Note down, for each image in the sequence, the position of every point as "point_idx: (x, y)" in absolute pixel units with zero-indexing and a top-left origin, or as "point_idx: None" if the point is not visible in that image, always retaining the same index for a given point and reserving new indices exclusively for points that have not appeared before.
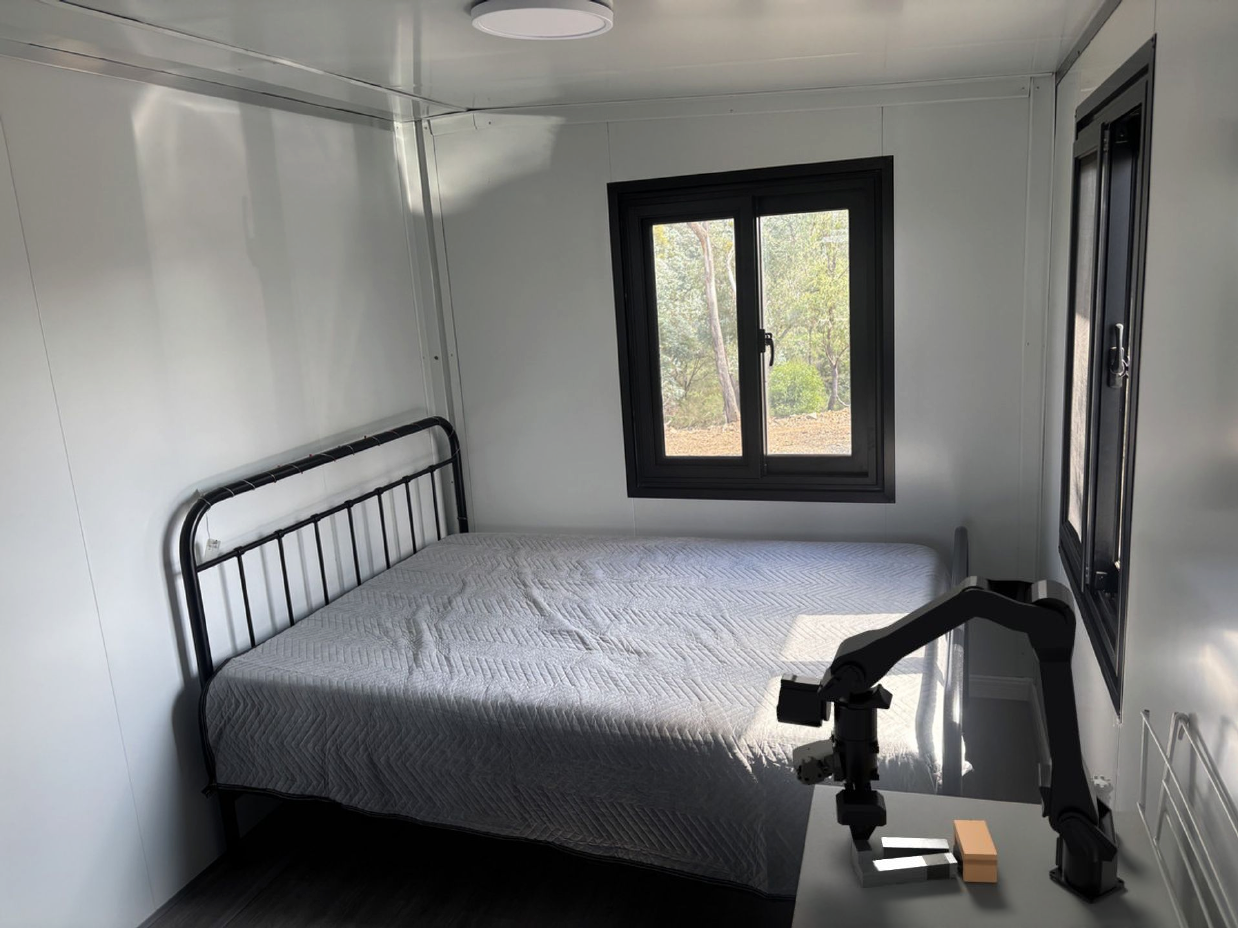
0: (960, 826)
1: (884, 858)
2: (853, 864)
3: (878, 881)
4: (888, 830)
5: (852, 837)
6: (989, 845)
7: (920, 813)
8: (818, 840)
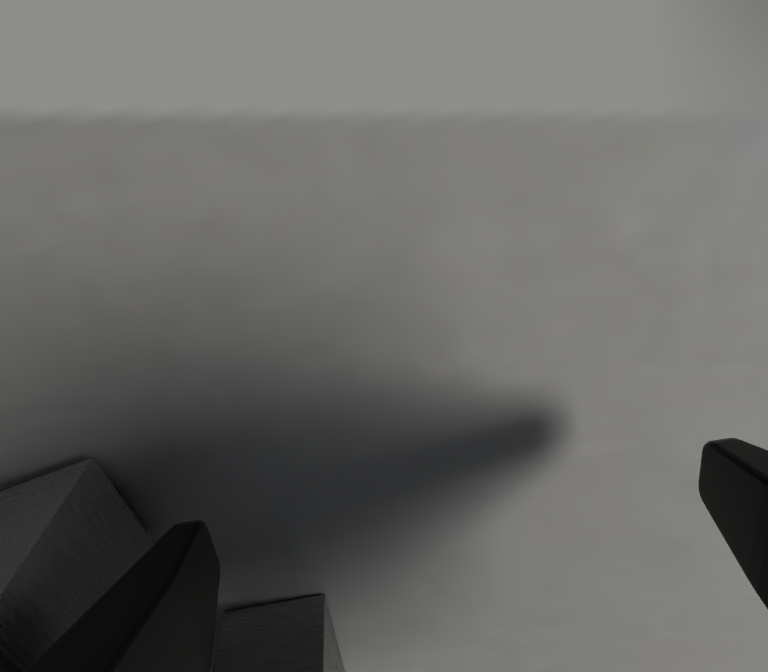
0: None
1: (223, 640)
2: (62, 478)
3: None
4: (573, 603)
5: (53, 644)
6: None
7: None
8: (381, 138)
